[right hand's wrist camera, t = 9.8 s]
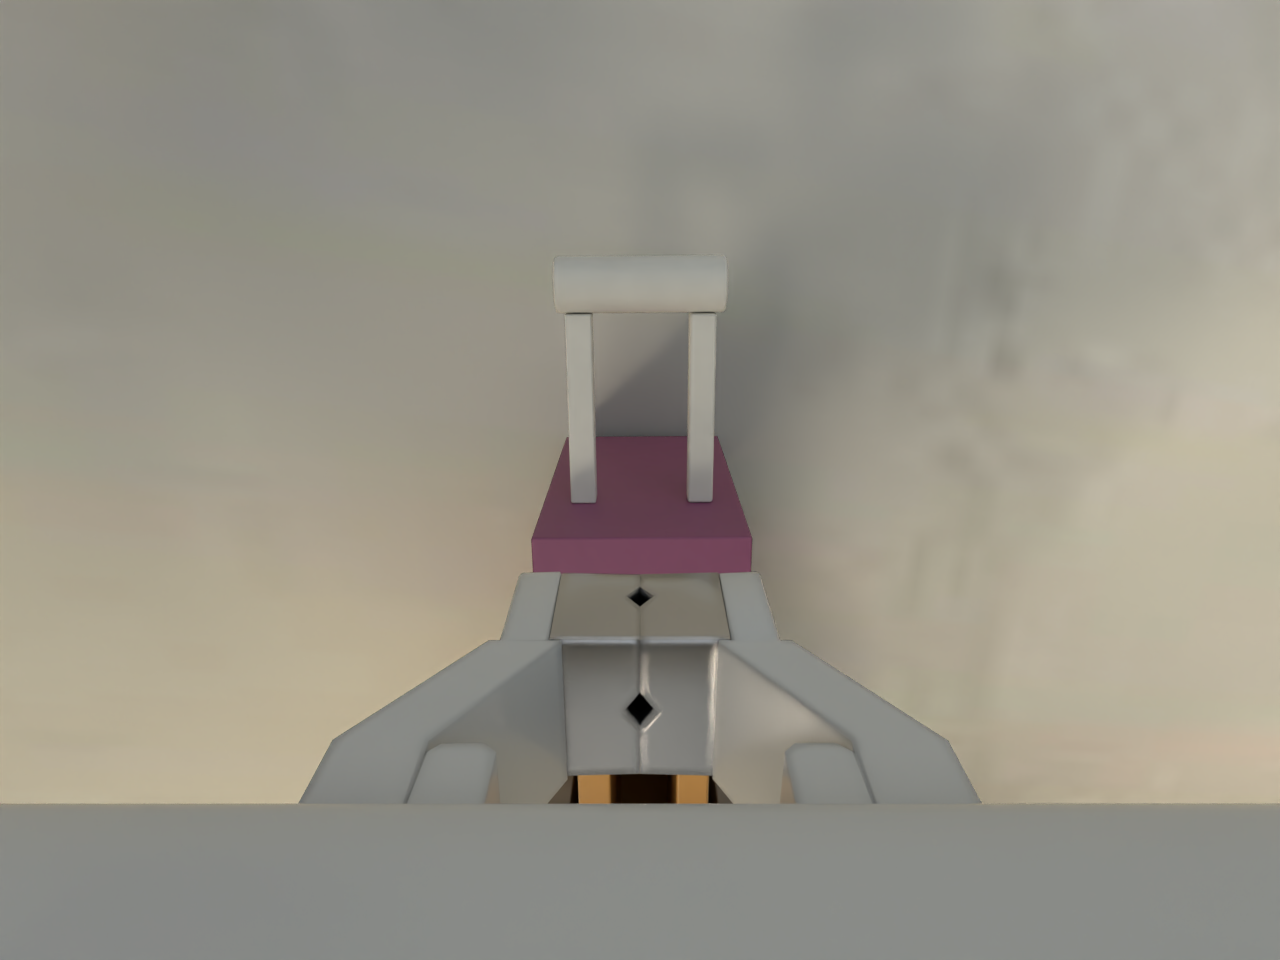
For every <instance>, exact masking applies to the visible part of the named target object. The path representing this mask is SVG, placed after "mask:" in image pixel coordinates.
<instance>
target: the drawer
mask: <svg viewBox="0 0 1280 960" xmlns="http://www.w3.org/2000/svg"><path fill="white" fill-rule="evenodd" d="M552 281H553V299H554V306H555V309H556V312H558V313H566V314H565V316H564V321H565V348H566V376H567V403H568V430H569V437H567V438H566V441H565V444H564V447H563V450H562V453H561V455H560V458H559V461H558V464H557V467H556V470H555V473H554V476H553V479H552V481H551V484H550V487H549V490H548V493H547V496H546V499H545V502H544V504H543V507H542V510H541V513H540V516H539V519H538V522H537V525H536V528H535V530H534V533H533V536H532V539H531V543H532V562H533V572H560V573H561V574H563V573H607V574H673V573H715V572H718V573H737V572H751V558H752V536H751V533H750V530H749V527H748V524H747V522H746V519H745V516H744V513H743V510H742V507H741V504H740V501H739V498H738V495H737V492H736V489H735V486H734V483H733V481H732V478H731V475H730V472H729V469H728V466H727V463H726V460H725V457H724V454H723V451H722V448H721V445H720V442H719V440H718V437H717V436H714V415H715V373H716V331H717V316H716V314H715V312H723V311H725V309H726V305H727V298H728V263H727V259H726V256H724V255H641V256H557V257H555V259H554V262H553V275H552ZM684 312H690V313H689V338H688V418H687V436H649V437H596V428H595V389H594V349H593V314H592V313H684ZM708 790H709V776H703V775H666V774H612V775H578V796H579V804H708Z"/></svg>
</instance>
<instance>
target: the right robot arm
mask: <svg viewBox="0 0 1280 960" xmlns="http://www.w3.org/2000/svg"><path fill="white" fill-rule="evenodd" d="M612 774H666V775H703V776H713V780H714V781H715V782H716V784H717V785H718V786H719V787H720V788H721V790H722V791H723V792H724V793H725V794H726V796H727V797H728V798H729V799H730V801H731V802H732V803H733V804H548V802H549V801H550V800H551V799H552V798H553V796H554V795H555V794H556V793H557V792H558V790H559V789H560V788H561V787H562V786H563V784H564V783H565V782H566V781H567V776H576V775H612ZM0 960H1280V804H982V803H981V801H980V799H979V798H978V796H977V794H976V792H975V790H974V788H973V786H972V784H971V783H970V781H969V779H968V777H967V775H966V773H965V771H964V769H963V768H962V766H961V764H960V762H959V760H958V758H957V756H956V754H955V753H954V751H953V749H952V747H951V745H950V743H949V741H948V740H946V739H945V738H943V737H941V736H940V735H938V734H937V733H935V732H934V731H932V730H930V729H929V728H927V727H926V726H924V725H923V724H921V723H920V722H918V721H916V720H915V719H913V718H912V717H910V716H909V715H907V714H906V713H904V712H902V711H901V710H899V709H898V708H896V707H895V706H893V705H891V704H890V703H888V702H887V701H885V700H884V699H882V698H881V697H879V696H877V695H876V694H874V693H873V692H871V691H870V690H868V689H867V688H865V687H863V686H862V685H860V684H859V683H857V682H856V681H854V680H852V679H851V678H849V677H848V676H846V675H845V674H843V673H842V672H840V671H838V670H837V669H835V668H834V667H832V666H831V665H829V664H828V663H826V662H824V661H823V660H821V659H820V658H818V657H817V656H815V655H813V654H812V653H810V652H809V651H807V650H806V649H804V648H803V647H801V646H799V645H798V644H796V643H795V642H793V641H792V640H780V639H779V635H778V632H777V629H776V625H775V622H774V619H773V615H772V612H771V609H770V605H769V602H768V599H767V595H766V592H765V589H764V585H763V582H762V579H761V575H760V574H759V573H757V572H737V573H718V572H715V573H673V574H607V573H563V574H561V573H560V572H533V573H522V574H521V575H520V576H519V578H518V581H517V585H516V588H515V591H514V595H513V598H512V601H511V605H510V608H509V612H508V615H507V618H506V622H505V625H504V628H503V632H502V635H501V638H500V640H488V641H487V642H485V643H484V644H482V645H481V646H479V647H477V648H476V649H474V650H473V651H471V652H470V653H468V654H466V655H465V656H463V657H462V658H460V659H459V660H457V661H455V662H454V663H452V664H451V665H449V666H448V667H446V668H445V669H443V670H441V671H440V672H438V673H437V674H435V675H434V676H432V677H430V678H429V679H427V680H426V681H424V682H423V683H421V684H419V685H418V686H416V687H415V688H413V689H412V690H410V691H408V692H407V693H405V694H404V695H402V696H401V697H399V698H397V699H396V700H394V701H393V702H391V703H390V704H388V705H387V706H385V707H383V708H382V709H380V710H379V711H377V712H376V713H374V714H372V715H371V716H369V717H368V718H366V719H365V720H363V721H361V722H360V723H358V724H357V725H355V726H354V727H352V728H350V729H349V730H347V731H346V732H344V733H343V734H341V735H340V736H338V737H336V738H335V739H333V740H332V742H331V744H330V746H329V748H328V750H327V751H326V753H325V755H324V757H323V759H322V761H321V762H320V764H319V766H318V768H317V770H316V772H315V774H314V775H313V777H312V779H311V781H310V783H309V785H308V787H307V788H306V790H305V792H304V794H303V796H302V798H301V800H300V801H299V803H298V804H0Z"/></svg>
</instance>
